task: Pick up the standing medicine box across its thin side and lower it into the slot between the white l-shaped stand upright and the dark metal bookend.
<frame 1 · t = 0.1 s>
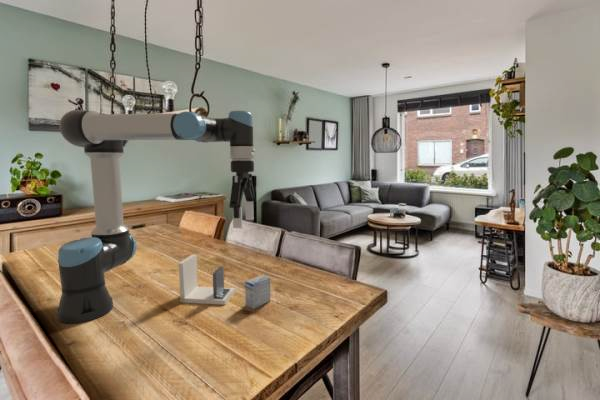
hand: (244, 223, 108), 28 cm above the table, fingers open, 13 cm apart
white l-shaped stand: (208, 296, 116), on the table
bookend: (219, 298, 115), resting on white l-shaped stand
medicine box: (258, 304, 111), on the table
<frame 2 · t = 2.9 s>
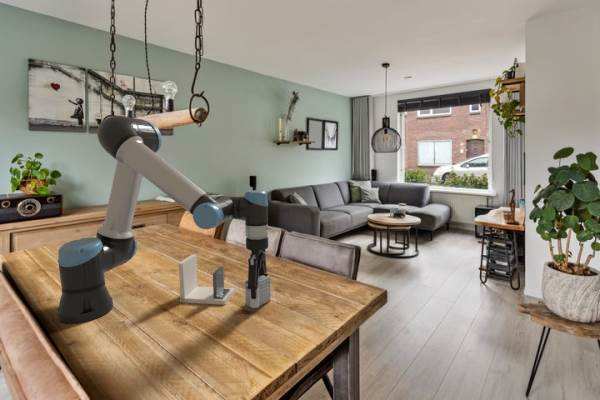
hand: (258, 300, 111), 1 cm above the table, fingers closed on medicine box, 9 cm apart
medicine box: (258, 303, 111), on the table, touching gripper
when the fingers open (4 cm above the table, at t = 10.0 s): medicine box drops 1 cm, resting on white l-shaped stand.
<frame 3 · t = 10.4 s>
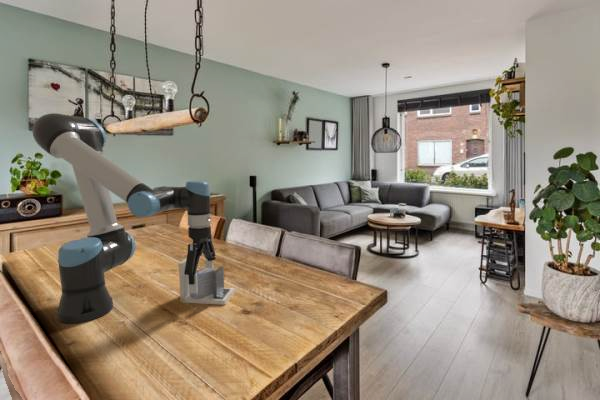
hand: (202, 284, 114), 5 cm above the table, fingers open, 13 cm apart
medicine box: (202, 295, 115), point 1 cm above the table, touching white l-shaped stand
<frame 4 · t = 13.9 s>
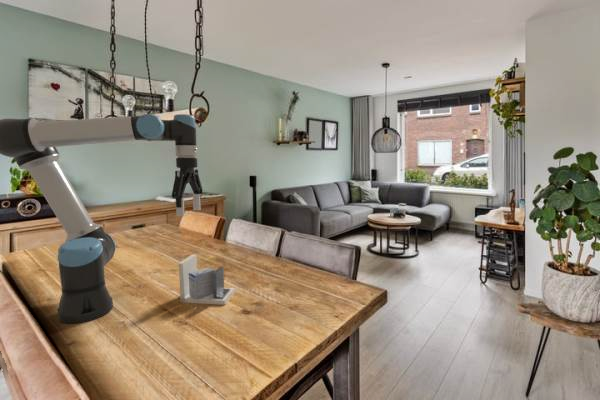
hand: (189, 213, 124), 29 cm above the table, fingers open, 13 cm apart
nothing on the table moved.
at the end: medicine box inside the target area (0.6 cm from its centre), point 1.3 cm above the table; medicine box tilted 0°; the gripper is holding nothing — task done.
